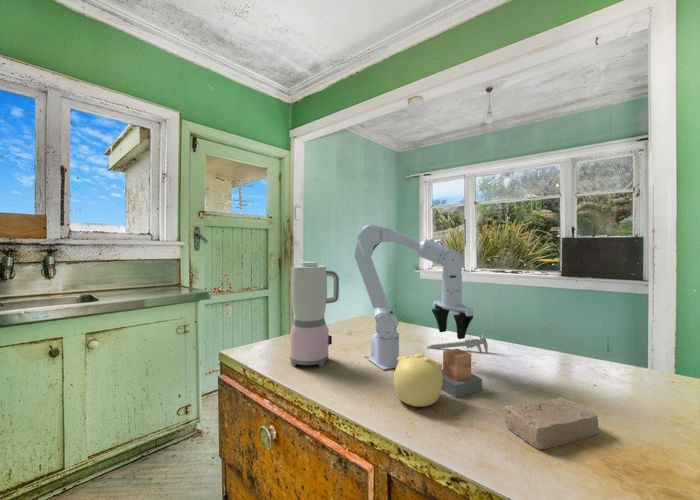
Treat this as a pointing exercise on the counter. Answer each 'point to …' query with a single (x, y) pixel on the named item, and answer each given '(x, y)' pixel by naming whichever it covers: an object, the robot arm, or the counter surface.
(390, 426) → the counter surface
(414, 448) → the counter surface
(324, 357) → the blender
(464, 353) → the block
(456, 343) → the caliper
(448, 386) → the base
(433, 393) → the sculpture
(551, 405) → the brick
